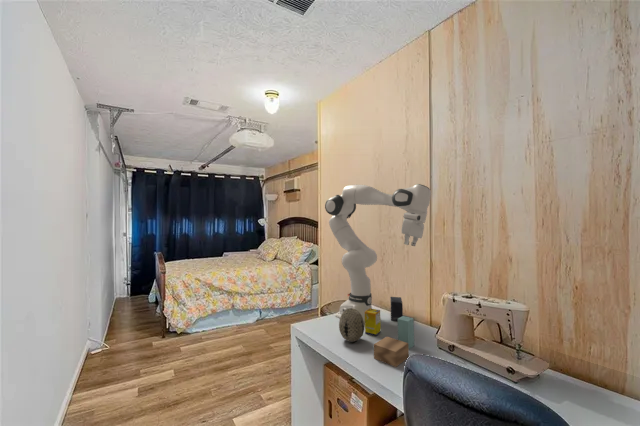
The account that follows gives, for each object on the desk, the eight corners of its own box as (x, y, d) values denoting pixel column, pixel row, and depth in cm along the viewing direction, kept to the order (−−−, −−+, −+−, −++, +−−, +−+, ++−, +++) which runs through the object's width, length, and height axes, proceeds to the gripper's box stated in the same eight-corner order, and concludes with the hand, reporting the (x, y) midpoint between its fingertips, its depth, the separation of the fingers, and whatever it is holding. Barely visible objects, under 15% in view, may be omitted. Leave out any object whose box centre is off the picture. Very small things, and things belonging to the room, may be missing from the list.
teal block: (398, 345, 129) (397, 318, 129) (403, 342, 132) (403, 315, 132) (408, 349, 125) (407, 321, 125) (414, 345, 129) (413, 318, 129)
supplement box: (370, 329, 148) (369, 308, 148) (381, 332, 144) (380, 309, 144) (364, 333, 143) (364, 311, 143) (376, 336, 139) (375, 313, 139)
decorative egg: (368, 338, 137) (367, 306, 137) (358, 348, 127) (357, 314, 127) (346, 333, 143) (345, 303, 143) (334, 342, 133) (334, 310, 133)
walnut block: (374, 359, 118) (373, 344, 118) (387, 350, 125) (386, 336, 125) (396, 367, 111) (395, 351, 111) (408, 358, 118) (408, 343, 118)
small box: (403, 321, 157) (402, 302, 157) (391, 321, 159) (390, 301, 159) (401, 315, 168) (401, 296, 168) (390, 314, 169) (389, 296, 169)
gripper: (416, 219, 151) (410, 245, 151) (402, 213, 135) (395, 242, 135) (429, 221, 147) (422, 248, 147) (415, 215, 131) (408, 245, 131)
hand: (409, 245), depth 141 cm, fingers open, 8 cm apart
